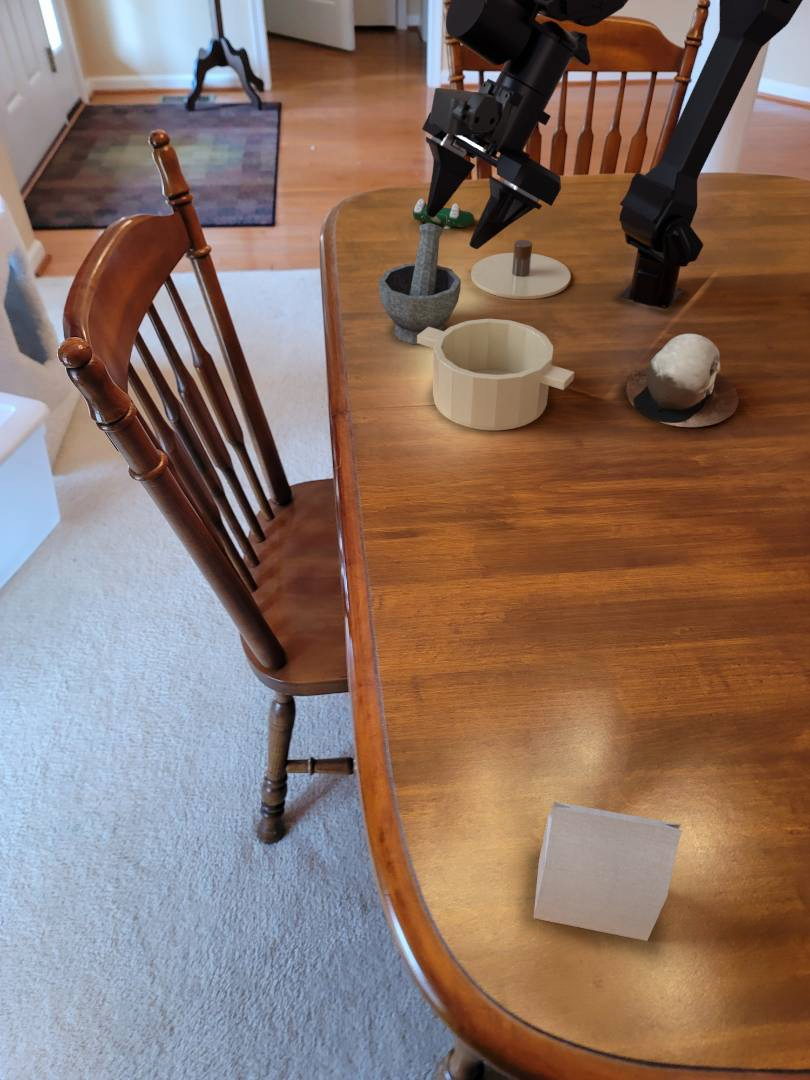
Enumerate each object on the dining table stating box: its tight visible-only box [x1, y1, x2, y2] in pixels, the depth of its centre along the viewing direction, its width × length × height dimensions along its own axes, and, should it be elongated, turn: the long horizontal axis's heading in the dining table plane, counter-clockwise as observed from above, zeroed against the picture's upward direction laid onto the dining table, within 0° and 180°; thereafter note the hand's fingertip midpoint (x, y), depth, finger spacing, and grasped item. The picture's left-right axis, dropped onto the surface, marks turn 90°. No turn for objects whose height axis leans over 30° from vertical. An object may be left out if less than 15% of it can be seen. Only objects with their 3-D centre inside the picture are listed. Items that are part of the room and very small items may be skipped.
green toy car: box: [412, 198, 475, 230], centre depth 128 cm, size 9×4×6 cm
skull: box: [625, 333, 740, 428], centre depth 92 cm, size 12×10×10 cm
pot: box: [417, 318, 575, 431], centre depth 91 cm, size 13×18×6 cm
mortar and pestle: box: [378, 223, 462, 345], centre depth 101 cm, size 11×9×12 cm
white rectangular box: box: [533, 801, 683, 942], centre depth 48 cm, size 4×7×10 cm, turn 78°
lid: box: [470, 239, 572, 300], centre depth 113 cm, size 14×14×5 cm
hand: (450, 231), depth 91 cm, fingers open, 9 cm apart
